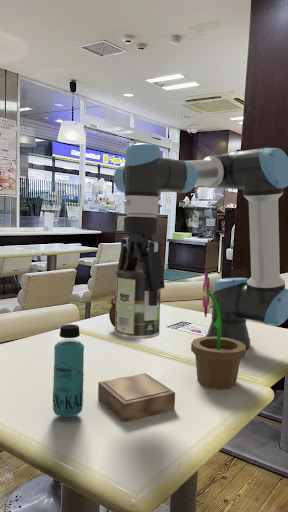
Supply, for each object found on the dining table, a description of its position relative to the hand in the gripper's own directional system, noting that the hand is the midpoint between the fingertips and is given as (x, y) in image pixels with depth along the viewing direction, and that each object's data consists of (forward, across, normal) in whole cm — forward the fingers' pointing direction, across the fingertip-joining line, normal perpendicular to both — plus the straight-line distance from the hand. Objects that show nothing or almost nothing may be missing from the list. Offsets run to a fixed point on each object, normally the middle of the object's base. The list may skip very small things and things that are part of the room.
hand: (137, 314), depth 96 cm
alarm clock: (+21, -56, +26) cm, 65 cm away
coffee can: (+4, 0, 0) cm, 4 cm away
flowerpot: (+21, -2, +26) cm, 34 cm away
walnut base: (+21, 0, 0) cm, 21 cm away
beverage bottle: (+21, -1, -16) cm, 27 cm away
